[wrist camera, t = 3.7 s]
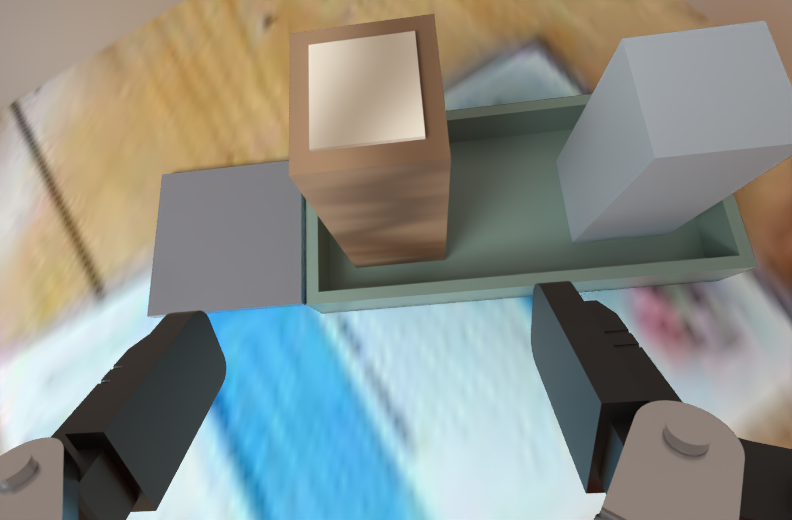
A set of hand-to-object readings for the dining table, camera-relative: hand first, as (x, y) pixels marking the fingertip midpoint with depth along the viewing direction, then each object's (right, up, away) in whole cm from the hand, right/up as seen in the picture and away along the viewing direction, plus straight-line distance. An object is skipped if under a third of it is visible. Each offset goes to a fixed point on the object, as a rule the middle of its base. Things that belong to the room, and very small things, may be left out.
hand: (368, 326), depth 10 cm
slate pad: (-9, +3, +15) cm, 18 cm away
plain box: (+13, +5, +13) cm, 19 cm away
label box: (+1, +4, +14) cm, 14 cm away
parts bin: (+7, +4, +14) cm, 16 cm away
